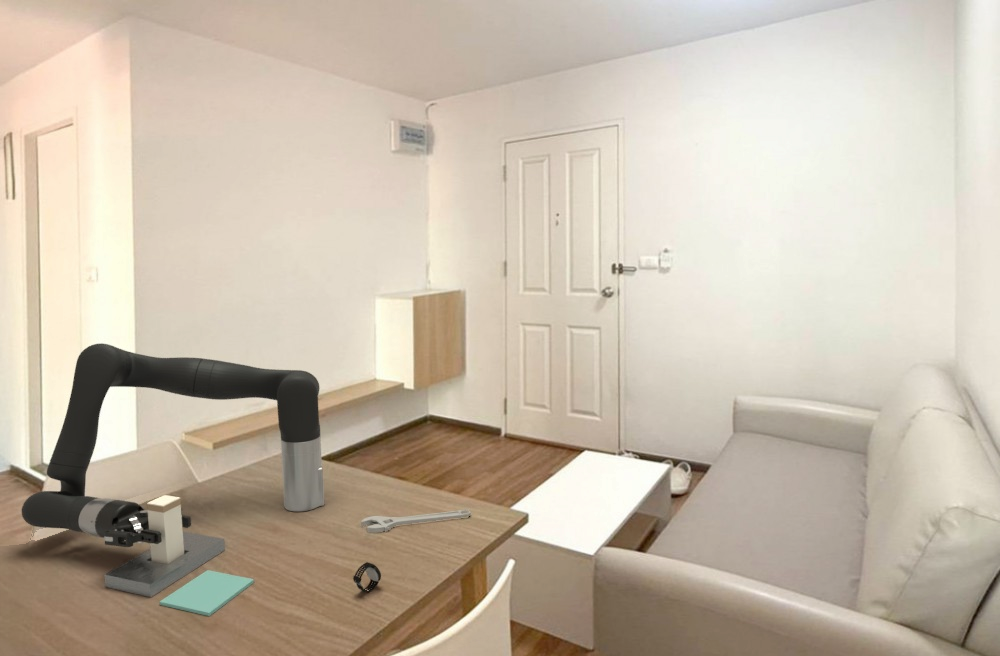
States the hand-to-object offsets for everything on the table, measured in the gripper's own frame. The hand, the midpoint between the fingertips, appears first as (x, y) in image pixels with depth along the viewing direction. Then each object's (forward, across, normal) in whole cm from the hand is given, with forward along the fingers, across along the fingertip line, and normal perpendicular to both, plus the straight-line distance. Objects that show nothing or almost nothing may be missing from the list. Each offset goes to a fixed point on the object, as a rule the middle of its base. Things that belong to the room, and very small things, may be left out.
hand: (175, 529), depth 115 cm
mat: (+12, -5, +8) cm, 15 cm away
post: (-2, 0, +8) cm, 9 cm away
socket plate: (-2, 0, +8) cm, 9 cm away
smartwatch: (+39, +5, +8) cm, 40 cm away
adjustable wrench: (+36, +32, +9) cm, 49 cm away
